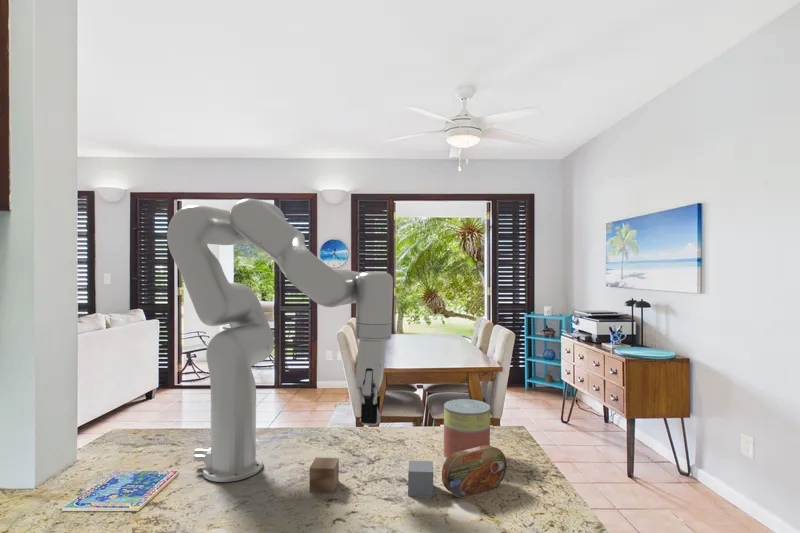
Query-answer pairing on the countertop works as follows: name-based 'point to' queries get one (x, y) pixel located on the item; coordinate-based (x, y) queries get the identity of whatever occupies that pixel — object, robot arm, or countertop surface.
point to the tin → (474, 470)
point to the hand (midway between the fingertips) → (370, 417)
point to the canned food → (465, 425)
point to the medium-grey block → (420, 478)
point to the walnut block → (324, 475)
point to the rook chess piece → (377, 411)
